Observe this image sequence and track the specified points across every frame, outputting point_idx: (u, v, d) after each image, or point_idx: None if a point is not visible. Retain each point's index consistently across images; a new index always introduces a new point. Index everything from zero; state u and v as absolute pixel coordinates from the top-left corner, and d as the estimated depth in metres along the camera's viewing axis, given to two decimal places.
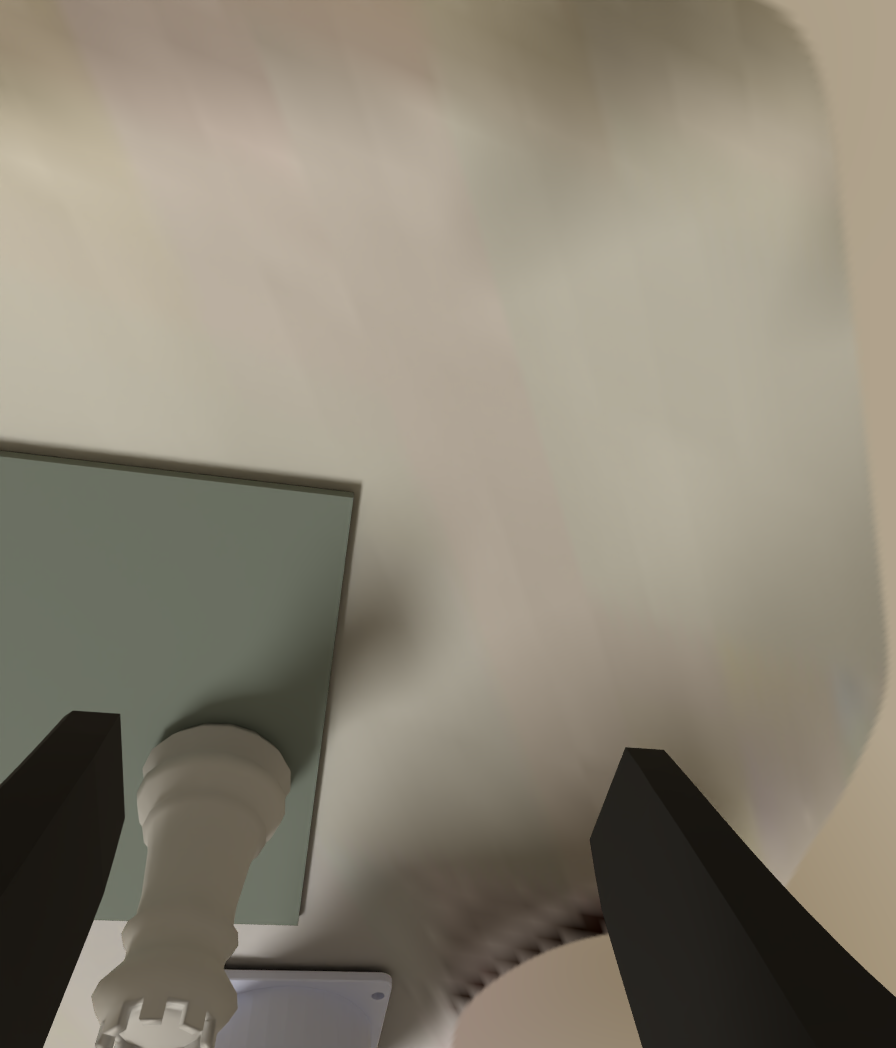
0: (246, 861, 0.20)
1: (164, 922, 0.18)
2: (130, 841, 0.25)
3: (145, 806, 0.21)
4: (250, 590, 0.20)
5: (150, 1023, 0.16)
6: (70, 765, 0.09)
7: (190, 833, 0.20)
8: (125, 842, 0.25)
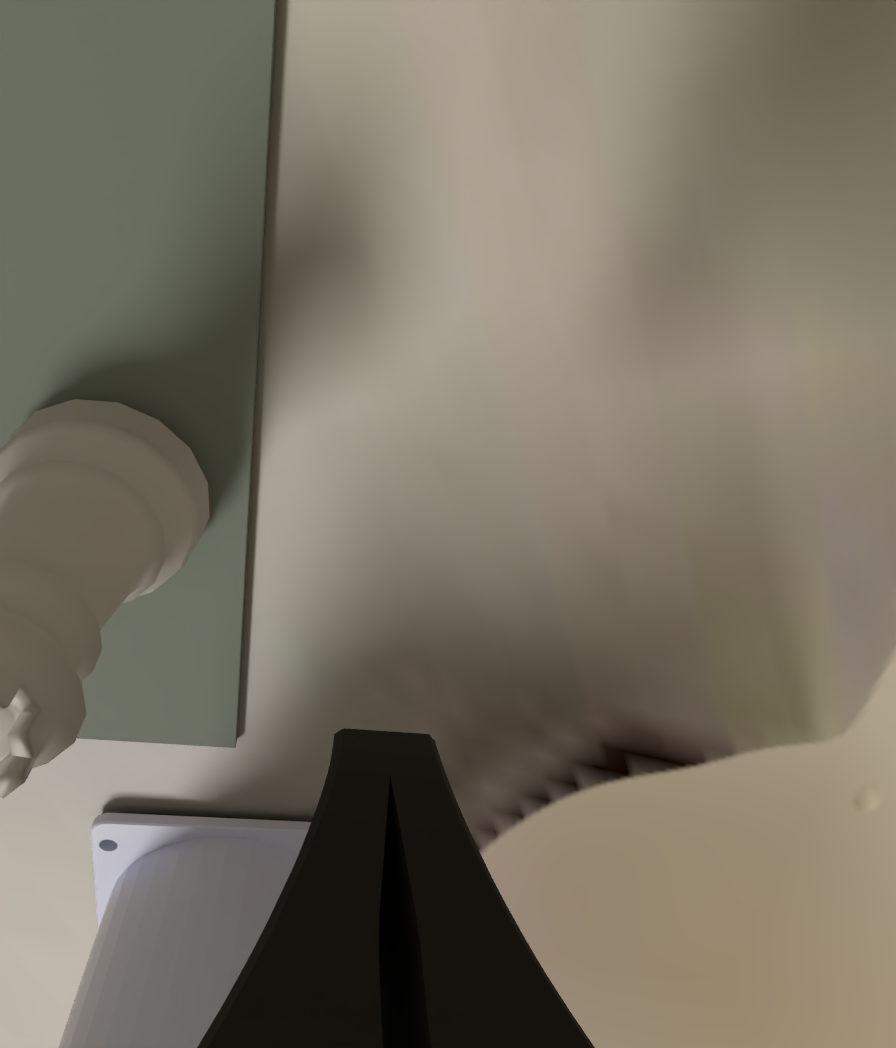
0: (128, 558, 0.14)
1: None
2: None
3: None
4: (133, 163, 0.14)
5: None
6: (373, 781, 0.09)
7: (39, 502, 0.13)
8: None
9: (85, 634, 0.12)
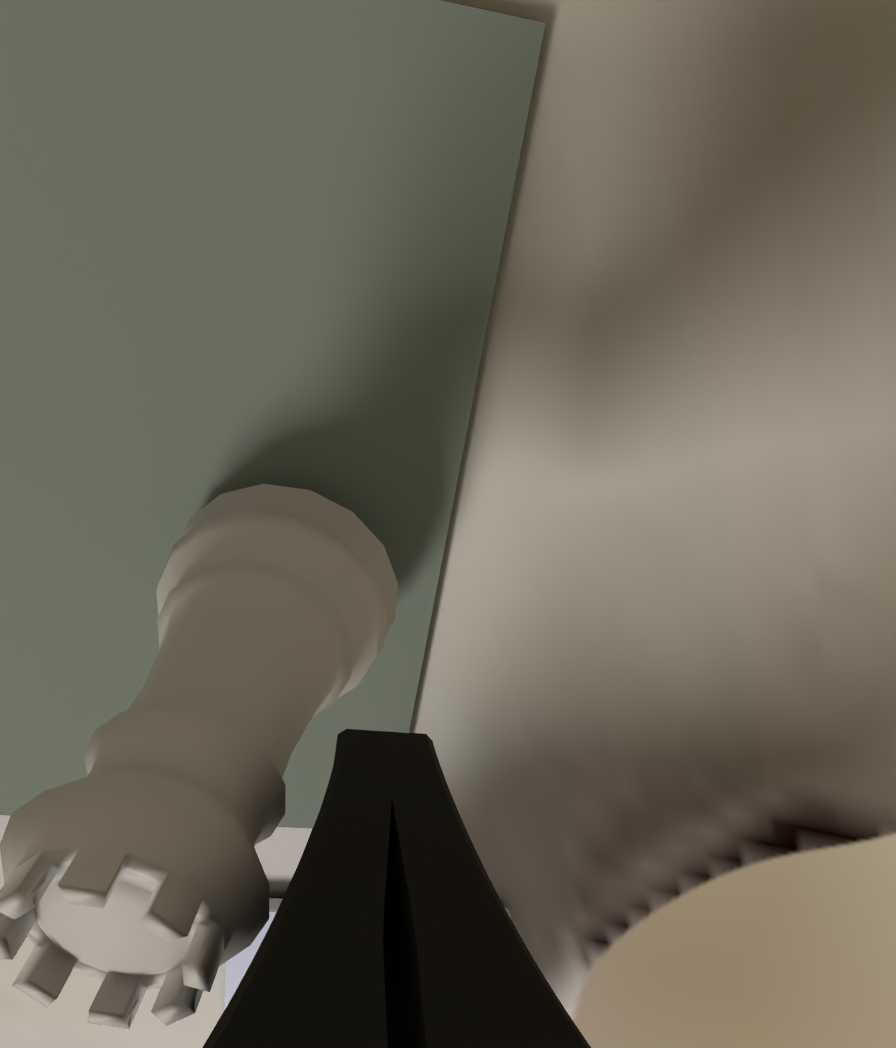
0: (315, 687, 0.12)
1: (152, 734, 0.09)
2: None
3: (166, 591, 0.13)
4: (360, 220, 0.12)
5: (82, 900, 0.08)
6: (376, 782, 0.09)
7: (224, 617, 0.11)
8: None
9: (270, 800, 0.10)
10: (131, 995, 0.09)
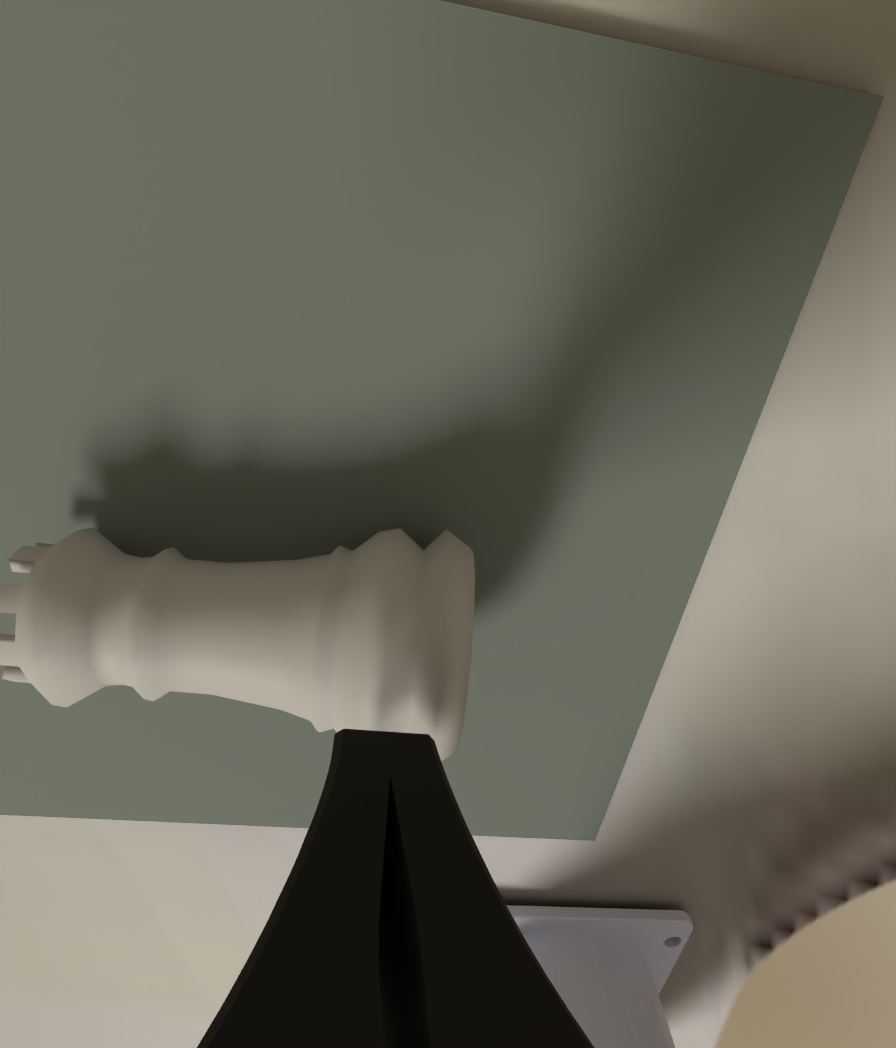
0: (257, 664, 0.13)
1: (146, 559, 0.13)
2: None
3: None
4: (681, 274, 0.13)
5: None
6: (373, 782, 0.09)
7: (278, 567, 0.13)
8: None
9: (125, 655, 0.13)
10: None
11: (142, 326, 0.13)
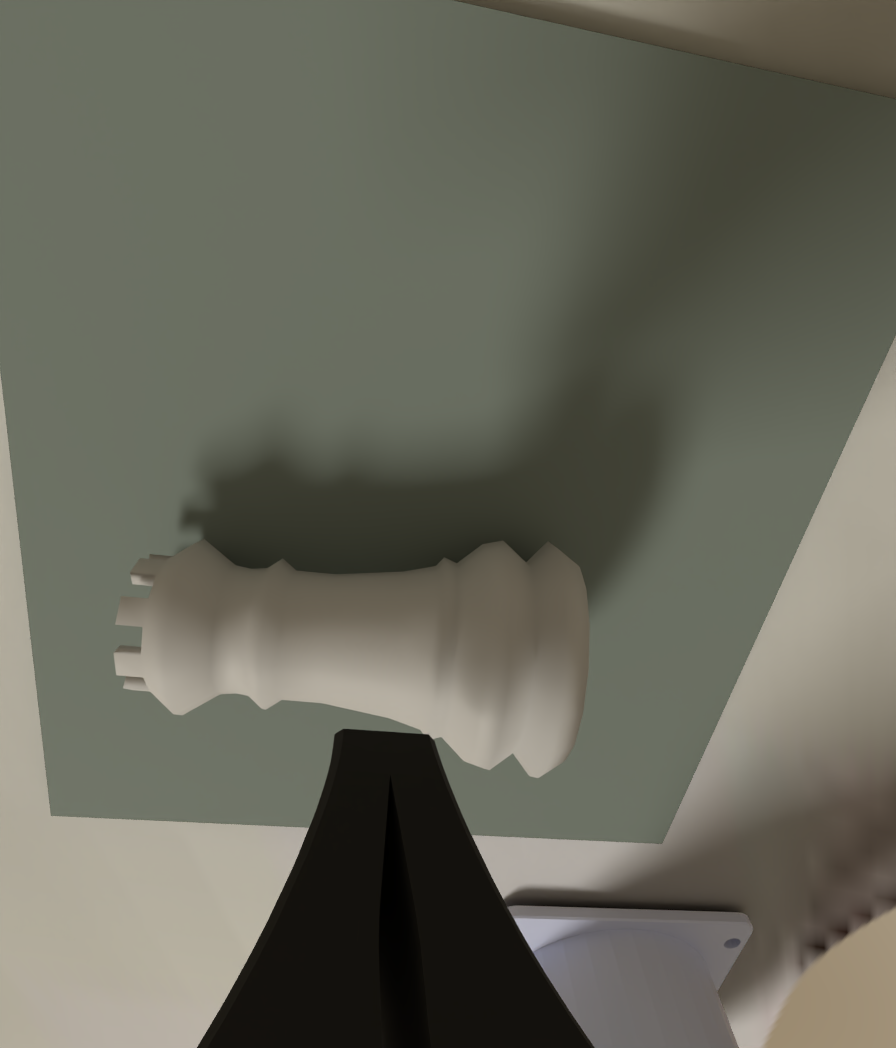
0: (376, 677, 0.13)
1: (260, 572, 0.14)
2: None
3: None
4: (786, 292, 0.14)
5: None
6: (373, 781, 0.09)
7: (389, 580, 0.14)
8: None
9: (247, 667, 0.13)
10: None
11: (262, 341, 0.13)
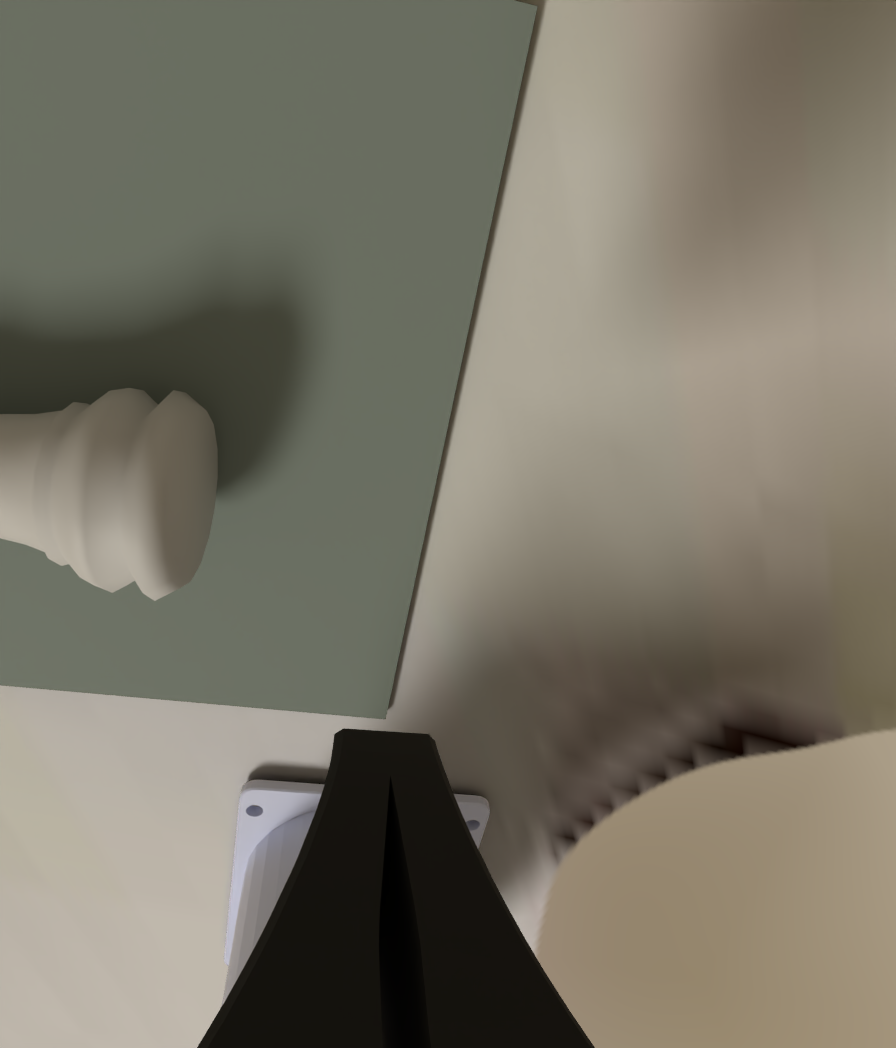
0: None
1: None
2: None
3: None
4: (382, 163, 0.15)
5: None
6: (372, 781, 0.09)
7: (21, 416, 0.15)
8: None
9: None
10: None
11: None
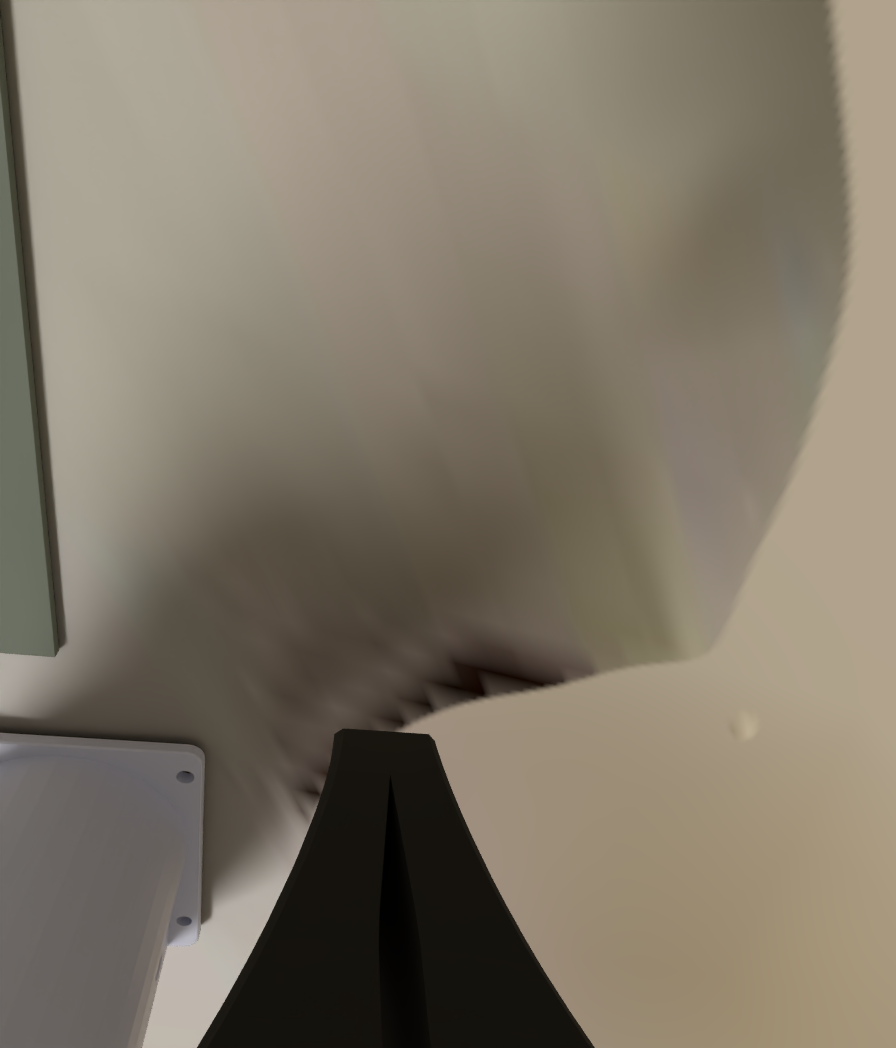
0: None
1: None
2: None
3: None
4: None
5: None
6: (373, 781, 0.09)
7: None
8: None
9: None
10: None
11: None
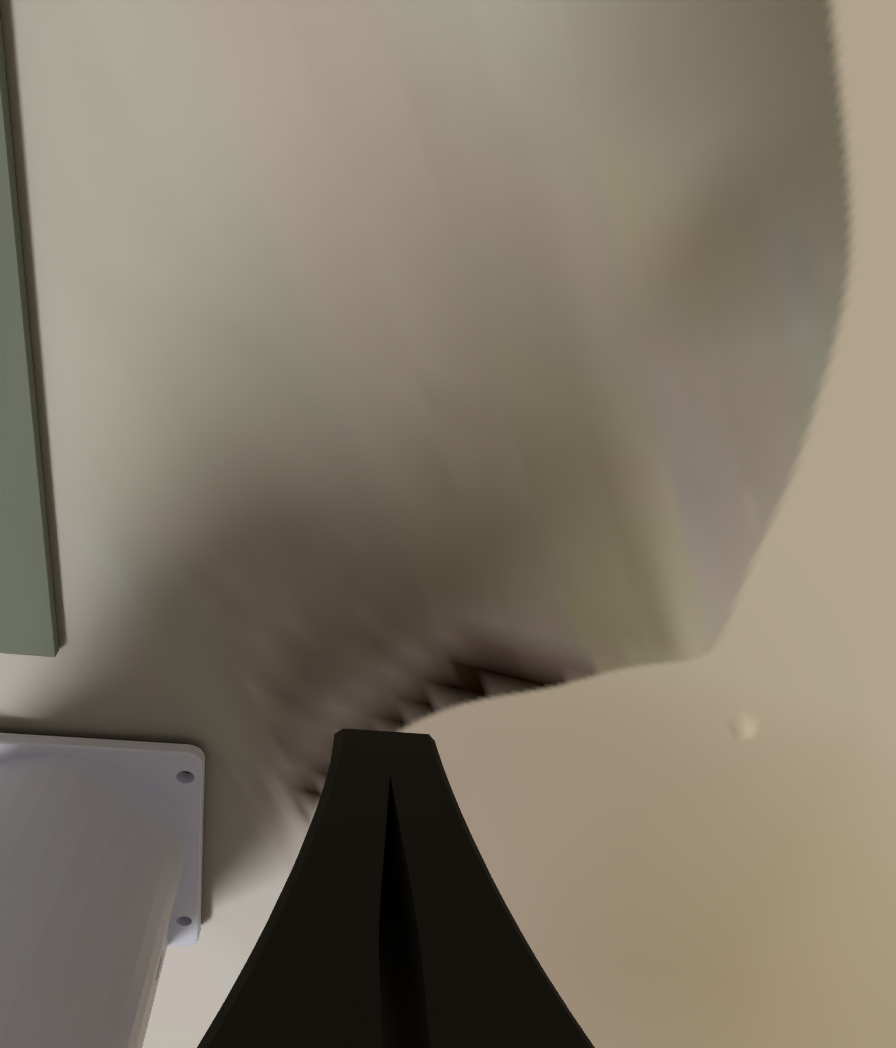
0: None
1: None
2: None
3: None
4: None
5: None
6: (373, 781, 0.09)
7: None
8: None
9: None
10: None
11: None
